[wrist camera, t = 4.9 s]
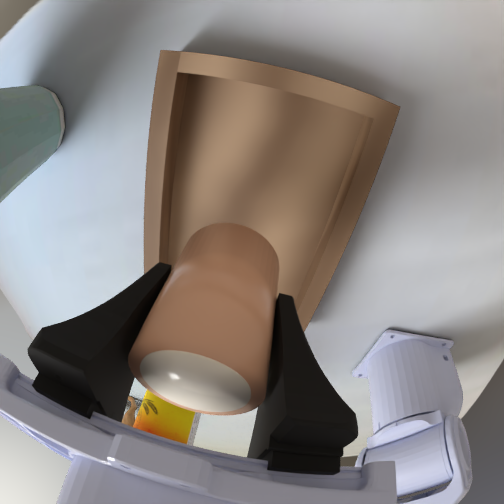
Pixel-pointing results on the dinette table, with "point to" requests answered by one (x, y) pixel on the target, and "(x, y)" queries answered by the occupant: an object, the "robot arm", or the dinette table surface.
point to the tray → (261, 163)
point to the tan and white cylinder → (212, 324)
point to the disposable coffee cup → (27, 132)
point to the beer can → (167, 419)
